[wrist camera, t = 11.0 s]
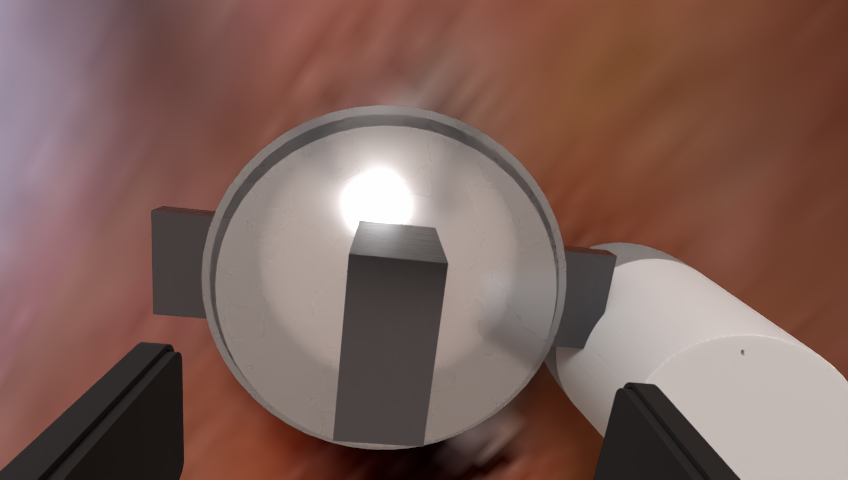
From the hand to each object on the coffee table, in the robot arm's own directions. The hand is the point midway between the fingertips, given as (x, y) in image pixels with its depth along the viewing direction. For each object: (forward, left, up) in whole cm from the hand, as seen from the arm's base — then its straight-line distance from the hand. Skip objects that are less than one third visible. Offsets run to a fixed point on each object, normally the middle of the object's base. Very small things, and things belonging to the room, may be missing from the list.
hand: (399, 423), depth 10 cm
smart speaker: (-13, +4, -19) cm, 23 cm away
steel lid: (0, +1, -10) cm, 10 cm away
